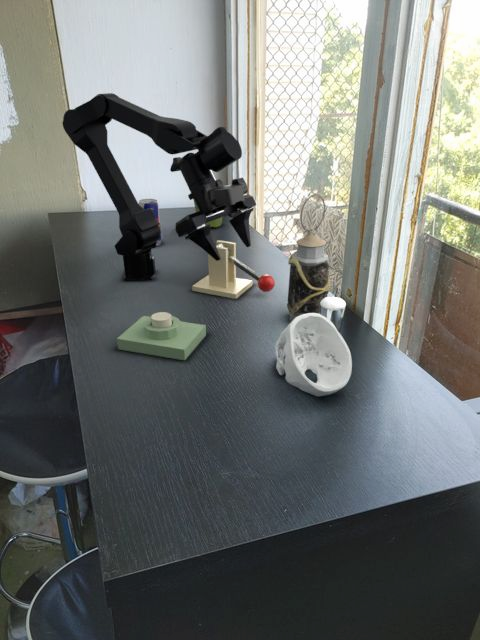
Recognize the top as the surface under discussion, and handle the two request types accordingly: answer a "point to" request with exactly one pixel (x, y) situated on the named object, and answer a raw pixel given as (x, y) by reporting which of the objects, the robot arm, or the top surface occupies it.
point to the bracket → (222, 275)
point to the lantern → (308, 273)
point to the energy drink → (155, 208)
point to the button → (161, 320)
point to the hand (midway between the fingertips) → (234, 253)
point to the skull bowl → (314, 355)
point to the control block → (162, 338)
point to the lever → (252, 273)
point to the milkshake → (333, 309)
